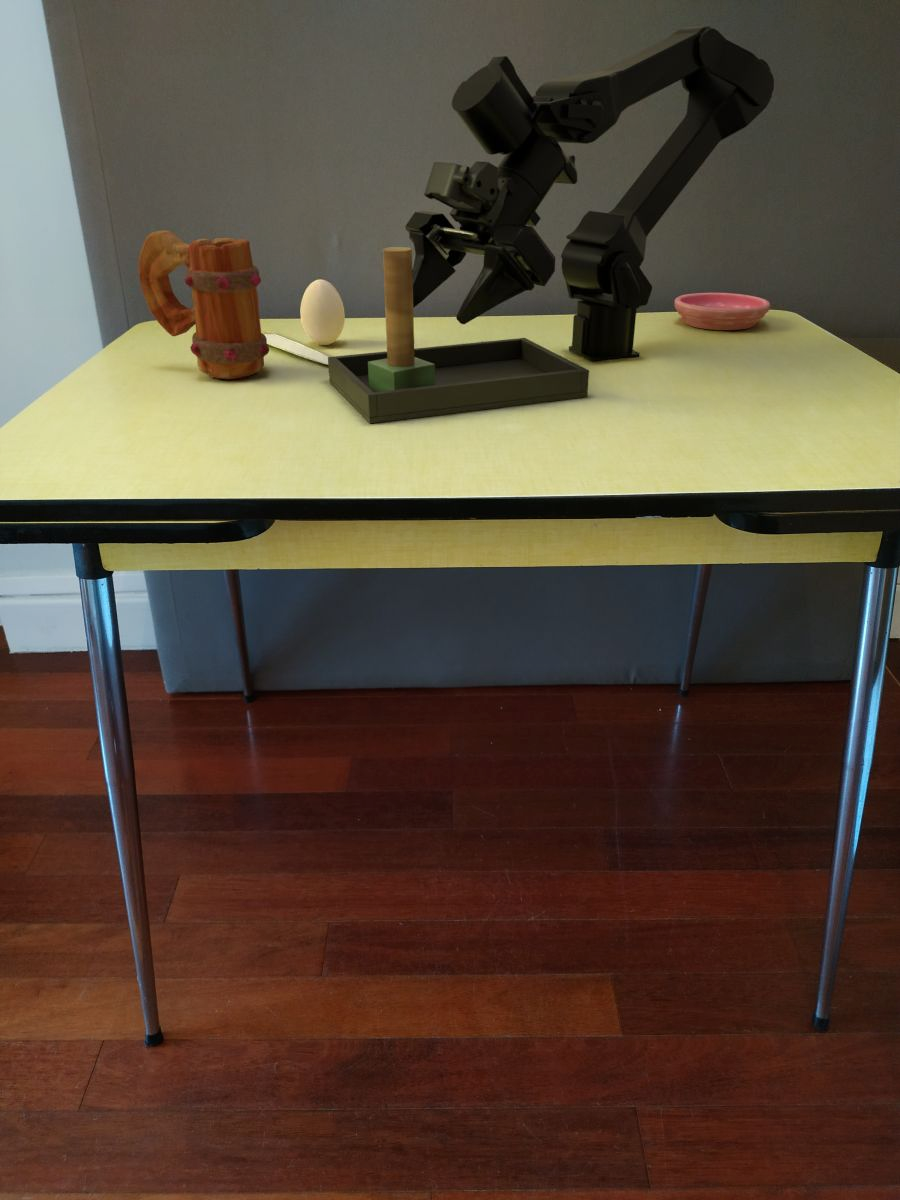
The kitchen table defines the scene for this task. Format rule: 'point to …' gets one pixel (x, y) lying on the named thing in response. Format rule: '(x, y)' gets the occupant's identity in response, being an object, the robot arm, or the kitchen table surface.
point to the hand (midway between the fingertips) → (432, 313)
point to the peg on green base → (399, 330)
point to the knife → (294, 347)
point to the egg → (322, 312)
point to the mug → (208, 300)
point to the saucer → (721, 310)
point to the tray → (463, 380)
